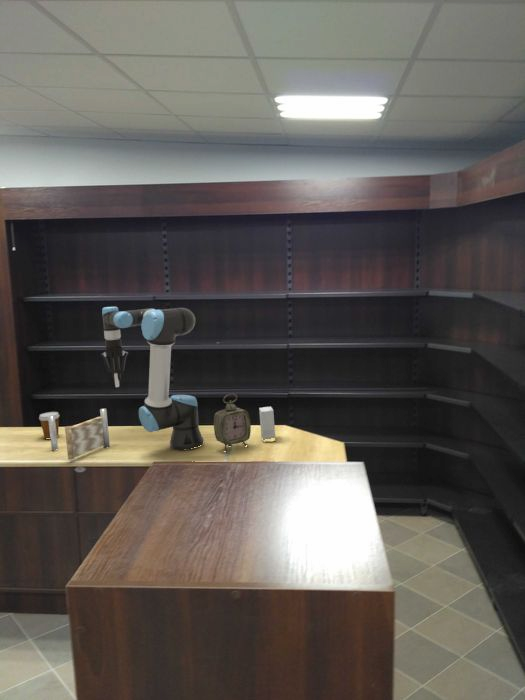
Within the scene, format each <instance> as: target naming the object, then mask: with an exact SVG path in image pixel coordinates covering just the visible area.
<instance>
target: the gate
mask: <svg viewBox="0 0 525 700" xmlns="http://www.w3.org/2000/svg"><path fill="white" fill-rule="evenodd" d="M64 431H65V432H64V433H65V441H66V450H67V460H73V459H75V458H77V457H79V456H83V455H84V454H86V453H89V452H92V451H94V450H97V449H99V448H101V447H103V446H104V439H103V429H102V417H101V416H97V417H94V418H91V419H89V420H86V421H83V422H80V423H78V424H74V425H68V426H65V427H64Z"/></svg>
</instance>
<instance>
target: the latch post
mask: <svg viewBox="0 0 525 700" xmlns="http://www.w3.org/2000/svg"><path fill="white" fill-rule="evenodd" d="M48 421H49V430H50V439H51V440H50V447H51V451H52V450H56V449H58V450H59V445H58V444H59V443H58V438H57V434H56V424H55V416H48Z"/></svg>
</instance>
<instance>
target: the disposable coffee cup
mask: <svg viewBox="0 0 525 700" xmlns="http://www.w3.org/2000/svg"><path fill="white" fill-rule="evenodd" d="M48 416H55V424H56V434H57V436H58V437H59V422H60V421H59V419H60V414H59V412H58V411H49V412H44V413H40V414H39V417H38V419H39V421H40V425H41V429H42V433H43V436H44V439H45V438H50V430H49V421H48Z"/></svg>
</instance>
